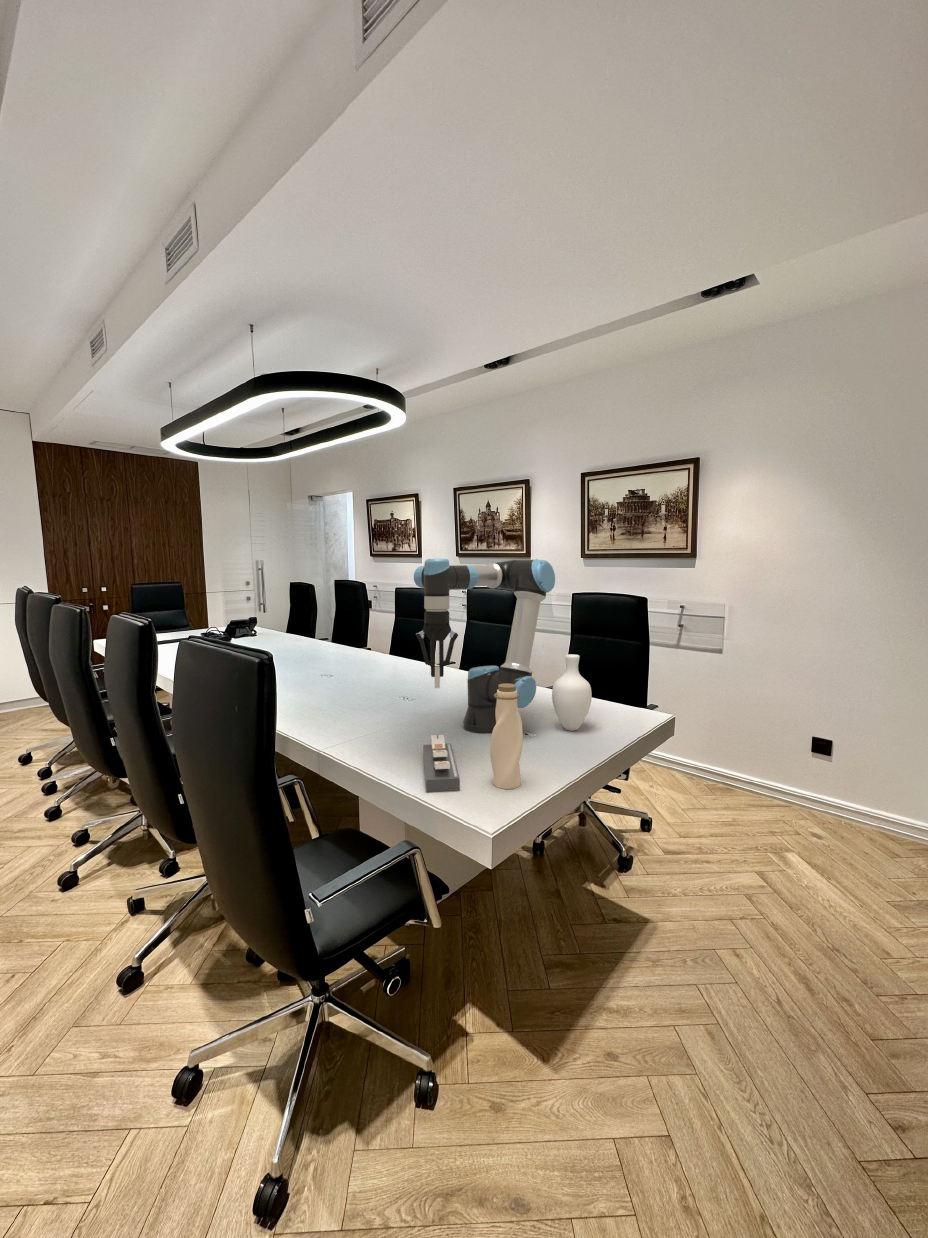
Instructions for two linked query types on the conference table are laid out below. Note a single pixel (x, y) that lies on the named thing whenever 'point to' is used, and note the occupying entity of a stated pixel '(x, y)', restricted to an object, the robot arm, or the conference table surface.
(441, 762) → the rocker
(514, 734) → the water bottle
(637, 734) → the conference table surface
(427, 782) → the power strip
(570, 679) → the vase
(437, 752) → the rocker
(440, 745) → the rocker
